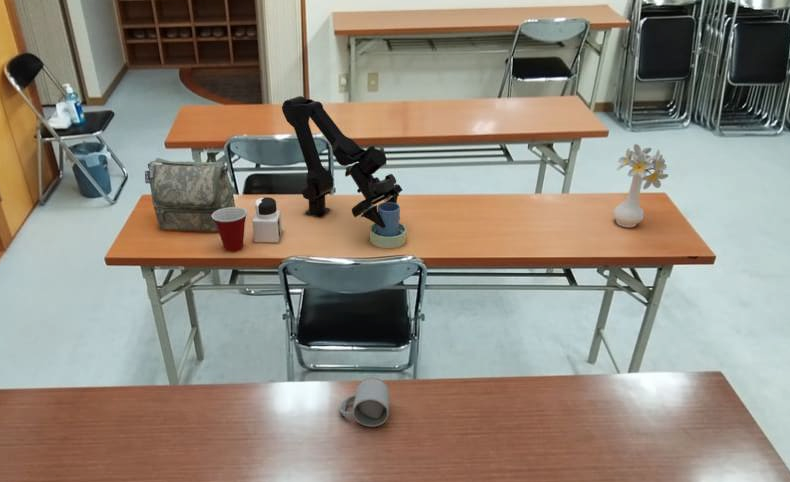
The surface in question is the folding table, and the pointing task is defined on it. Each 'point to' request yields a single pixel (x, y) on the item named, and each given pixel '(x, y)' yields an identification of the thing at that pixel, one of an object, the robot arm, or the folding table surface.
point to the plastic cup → (231, 227)
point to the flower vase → (638, 183)
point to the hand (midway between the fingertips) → (391, 223)
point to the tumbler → (389, 219)
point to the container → (267, 221)
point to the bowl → (388, 238)
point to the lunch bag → (188, 193)
